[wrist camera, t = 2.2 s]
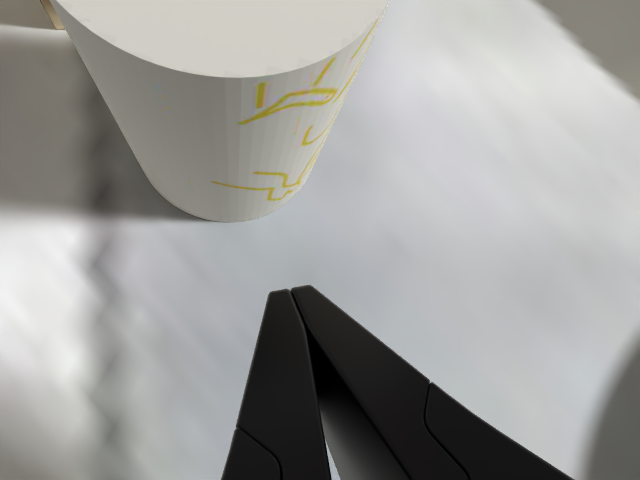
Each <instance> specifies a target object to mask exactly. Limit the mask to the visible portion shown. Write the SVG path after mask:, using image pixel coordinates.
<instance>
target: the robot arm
mask: <svg viewBox="0 0 640 480" xmlns="http://www.w3.org/2000/svg"><path fill="white" fill-rule="evenodd" d="M325 439H326V442H327V445H328V447H329V450H330V452H331V455H332V458H333V460H334V463H335V466H336V468H337V471H338V474H339V476H340V479H341V480H574V479H573V478H571V477H569V476H568V475H566V474H565V473H563V472H562V471H560V470H558V469H557V468H555V467H554V466H552V465H551V464H549V463H548V462H546V461H545V460H543V459H542V458H540V457H538V456H537V455H535V454H534V453H532V452H531V451H529V450H528V449H526V448H525V447H523V446H521V445H520V444H518V443H517V442H515V441H514V440H512V439H511V438H509V437H508V436H506V435H505V434H503V433H501V432H500V431H498V430H497V429H496V428H494V427H493V426H491V425H490V424H488V423H487V422H485V421H484V420H482V419H481V418H479V417H478V416H476V415H475V414H474V413H472V412H471V411H469V410H468V409H467V408H465V407H464V406H463V405H462V404H460V403H459V402H458V401H456V400H455V399H454V398H452V397H451V396H450V395H448V394H447V393H446V392H444V391H443V390H442V389H441V388H439V387H438V386H437V385H436V384H434V383H433V382H431V383H430V380H429V379H428V378H427V377H425V376H424V375H423V374H422V373H420V372H419V371H418V370H417V369H415V368H414V367H413V366H412V365H410V364H409V363H408V362H407V361H405V360H404V359H403V358H402V357H400V356H399V355H398V354H397V353H395V352H394V351H393V350H392V349H390V348H389V347H388V346H387V345H385V344H384V343H383V342H382V341H380V340H379V339H378V338H377V337H375V336H374V335H373V334H372V333H370V332H369V331H368V330H367V329H365V328H364V327H363V326H362V325H360V324H359V323H358V322H357V321H355V320H354V319H353V318H352V317H350V316H349V315H348V314H347V313H345V312H344V311H343V310H342V309H340V308H339V307H338V306H337V305H335V304H334V303H333V302H331V301H330V300H329V299H328V298H326V297H325V296H324V295H323V294H321V293H320V292H319V291H318V290H316V289H315V288H314V287H313V286H311V285H305V286H300V287H294V288H292V289H291V291H290V290H289V289H283V290H277V291H272V292H270V293H269V295H268V298H267V302H266V307H265V311H264V315H263V319H262V323H261V327H260V331H259V335H258V339H257V343H256V347H255V351H254V355H253V359H252V363H251V367H250V371H249V375H248V379H247V383H246V387H245V391H244V395H243V399H242V403H241V407H240V411H239V415H238V419H237V423H236V429H235V431H234V434H233V438H232V442H231V446H230V450H229V454H228V457H227V461H226V464H225V468H224V471H223V474H222V478H221V480H332V479H331V473H330V467H329V461H328V455H327V449H326V443H325Z"/></svg>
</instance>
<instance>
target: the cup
mask: <svg viewBox="0 0 640 480" xmlns="http://www.w3.org/2000/svg"><path fill="white" fill-rule="evenodd" d="M50 2H51V4H52V6H53V8H54V9H55V11H56V13H57V15H58V17H59V19H60V20H61V22H62V24H63V26H64V28H65V29H66V31H67V33H68V35H69V37H70V39H71V40H72V42H73V44H74V46H75V48H76V49H77V51H78V53H79V55H80V57H81V59H82V60H83V62H84V64H85V66H86V68H87V70H88V71H89V73H90V75H91V77H92V79H93V80H94V82H95V84H96V86H97V88H98V90H99V91H100V93H101V95H102V97H103V99H104V100H105V102H106V104H107V106H108V108H109V110H110V111H111V113H112V115H113V117H114V119H115V121H116V122H117V124H118V126H119V128H120V130H121V131H122V133H123V135H124V137H125V139H126V141H127V142H128V144H129V146H130V148H131V150H132V151H133V153H134V155H135V157H136V159H137V161H138V162H139V164H140V166H141V168H142V170H143V172H144V173H145V175H146V177H147V178H148V180H149V181H150V183H151V184H152V186H153V187H154V188H155V189H156V190H157V191H158V192H159V193H160V194H161V195H162V196H163V197H164V198H165V199H166V200H167V201H169V202H170V203H171V204H173V205H174V206H176V207H177V208H179V209H181V210H182V211H184V212H186V213H189V214H191V215H193V216H196V217H199V218H202V219H206V220H211V221H218V222H241V221H247V220H252V219H256V218H259V217H262V216H265V215H267V214H269V213H271V212H273V211H275V210H277V209H279V208H280V207H282V206H283V205H284V204H286V203H287V202H288V201H289V200H291V199H292V198H293V197H294V196H295V195H296V194H297V192H298V191H299V190H300V189H301V187H302V186H303V185H304V183H305V182H306V180H307V178H308V176H309V174H310V172H311V170H312V168H313V166H314V163H315V161H316V159H317V157H318V155H319V153H320V151H321V148H322V146H323V144H324V142H325V140H326V138H327V136H328V133H329V131H330V129H331V127H332V125H333V123H334V121H335V118H336V116H337V114H338V112H339V110H340V108H341V106H342V103H343V101H344V99H345V97H346V95H347V93H348V90H349V88H350V86H351V84H352V82H353V80H354V78H355V75H356V73H357V71H358V69H359V67H360V65H361V63H362V60H363V58H364V56H365V54H366V52H367V50H368V48H369V45H370V43H371V41H372V39H373V37H374V35H375V33H376V30H377V28H378V26H379V24H380V22H381V20H382V18H383V15H384V13H385V11H386V9H387V7H388V5H389V3H390V0H50Z"/></svg>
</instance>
